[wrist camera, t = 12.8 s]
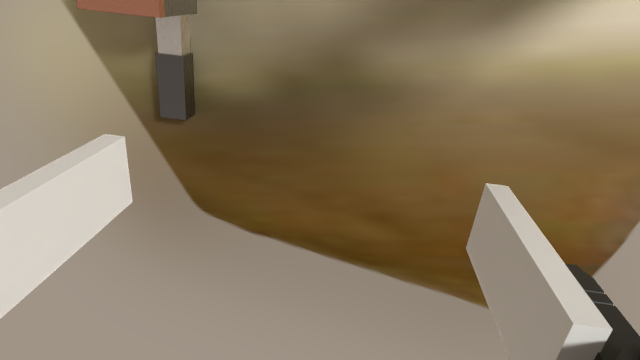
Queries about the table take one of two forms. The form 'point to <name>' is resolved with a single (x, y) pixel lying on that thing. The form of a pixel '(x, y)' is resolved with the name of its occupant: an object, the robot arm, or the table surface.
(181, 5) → the red-topped grey block
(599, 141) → the table surface
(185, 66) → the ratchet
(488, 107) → the table surface
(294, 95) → the table surface
